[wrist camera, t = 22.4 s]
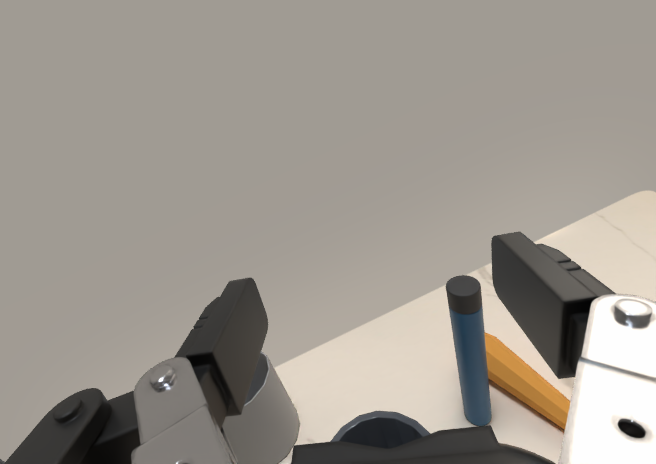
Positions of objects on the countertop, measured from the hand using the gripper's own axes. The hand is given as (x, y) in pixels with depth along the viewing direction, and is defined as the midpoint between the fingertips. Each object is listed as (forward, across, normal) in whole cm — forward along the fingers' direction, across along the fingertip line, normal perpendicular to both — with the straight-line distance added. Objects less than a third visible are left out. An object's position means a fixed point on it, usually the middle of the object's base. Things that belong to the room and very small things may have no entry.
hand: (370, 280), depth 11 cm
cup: (+17, +16, +29) cm, 37 cm away
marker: (+15, -8, +28) cm, 33 cm away
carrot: (+14, -14, +28) cm, 34 cm away
